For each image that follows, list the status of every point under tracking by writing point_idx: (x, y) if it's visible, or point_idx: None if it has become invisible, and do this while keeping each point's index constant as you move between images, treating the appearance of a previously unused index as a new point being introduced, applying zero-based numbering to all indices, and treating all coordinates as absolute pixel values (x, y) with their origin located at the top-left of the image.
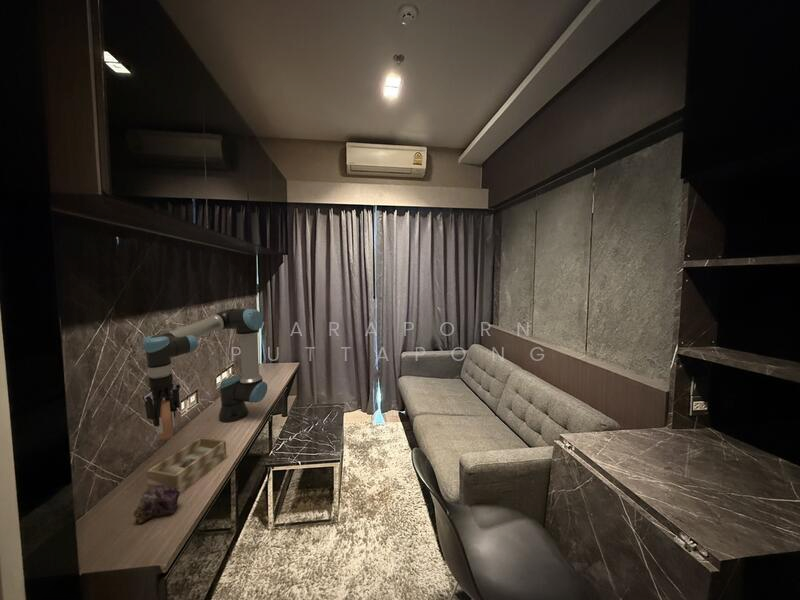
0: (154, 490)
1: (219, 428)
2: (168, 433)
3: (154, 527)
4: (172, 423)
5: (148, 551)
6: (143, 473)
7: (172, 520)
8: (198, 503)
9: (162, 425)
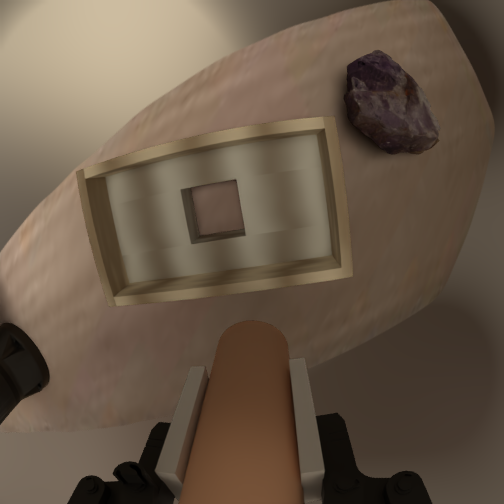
0: (415, 111)
1: (57, 346)
2: (256, 338)
3: None
4: (199, 391)
5: (437, 39)
6: None
7: None
8: (309, 39)
9: (294, 404)
